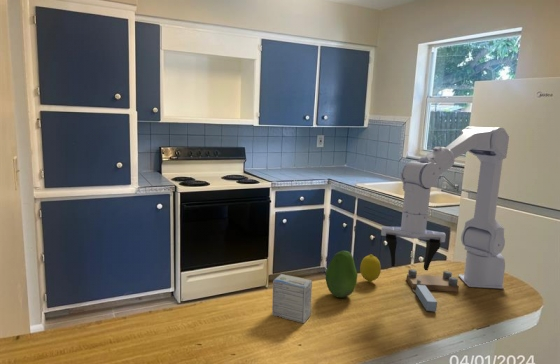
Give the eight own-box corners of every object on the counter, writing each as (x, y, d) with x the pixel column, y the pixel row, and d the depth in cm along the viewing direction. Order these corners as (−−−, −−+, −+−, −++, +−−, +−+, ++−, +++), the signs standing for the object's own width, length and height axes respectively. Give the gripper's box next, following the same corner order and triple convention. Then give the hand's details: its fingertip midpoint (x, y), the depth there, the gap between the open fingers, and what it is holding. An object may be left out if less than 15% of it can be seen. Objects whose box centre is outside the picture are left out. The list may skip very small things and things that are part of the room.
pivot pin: (421, 289, 108) (422, 278, 107) (424, 294, 105) (425, 282, 105) (411, 289, 108) (412, 277, 107) (413, 293, 105) (415, 282, 105)
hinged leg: (414, 291, 106) (415, 283, 105) (423, 292, 105) (424, 283, 105) (426, 310, 95) (427, 301, 95) (436, 311, 95) (437, 301, 95)
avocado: (360, 294, 104) (363, 249, 102) (348, 305, 97) (351, 258, 95) (332, 286, 108) (334, 243, 106) (318, 297, 101) (321, 251, 99)
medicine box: (311, 315, 92) (312, 279, 90) (303, 324, 88) (305, 287, 86) (279, 308, 95) (280, 273, 94) (271, 316, 91) (272, 279, 90)
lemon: (378, 278, 114) (380, 251, 113) (381, 286, 109) (383, 258, 108) (358, 277, 115) (360, 250, 114) (360, 285, 109) (362, 257, 108)
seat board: (449, 281, 114) (450, 271, 113) (458, 291, 107) (459, 280, 107) (406, 279, 115) (407, 269, 114) (412, 289, 108) (413, 278, 108)
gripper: (384, 212, 93) (379, 268, 95) (450, 219, 90) (443, 276, 92) (383, 206, 100) (378, 259, 102) (444, 212, 97) (438, 266, 99)
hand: (409, 267), depth 98 cm, fingers open, 7 cm apart
